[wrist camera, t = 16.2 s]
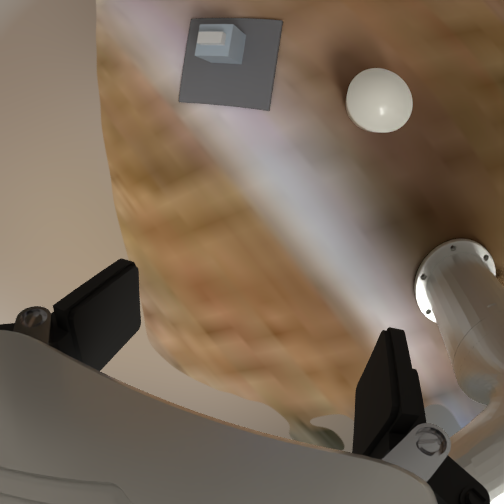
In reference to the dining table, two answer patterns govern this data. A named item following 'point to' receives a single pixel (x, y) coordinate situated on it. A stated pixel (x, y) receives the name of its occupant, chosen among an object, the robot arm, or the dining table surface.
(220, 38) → the block
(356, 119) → the white rounded capsule
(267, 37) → the mat
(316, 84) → the dining table surface
